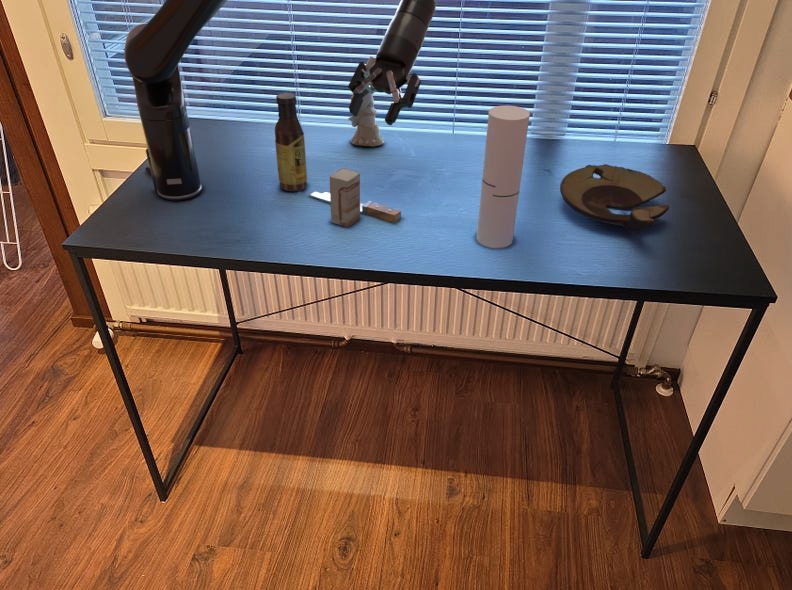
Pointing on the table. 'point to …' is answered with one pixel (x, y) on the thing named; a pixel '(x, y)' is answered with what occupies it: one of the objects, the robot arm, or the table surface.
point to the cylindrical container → (502, 175)
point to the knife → (367, 208)
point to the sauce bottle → (290, 145)
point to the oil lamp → (613, 195)
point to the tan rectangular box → (345, 197)
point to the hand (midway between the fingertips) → (370, 118)
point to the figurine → (366, 120)
